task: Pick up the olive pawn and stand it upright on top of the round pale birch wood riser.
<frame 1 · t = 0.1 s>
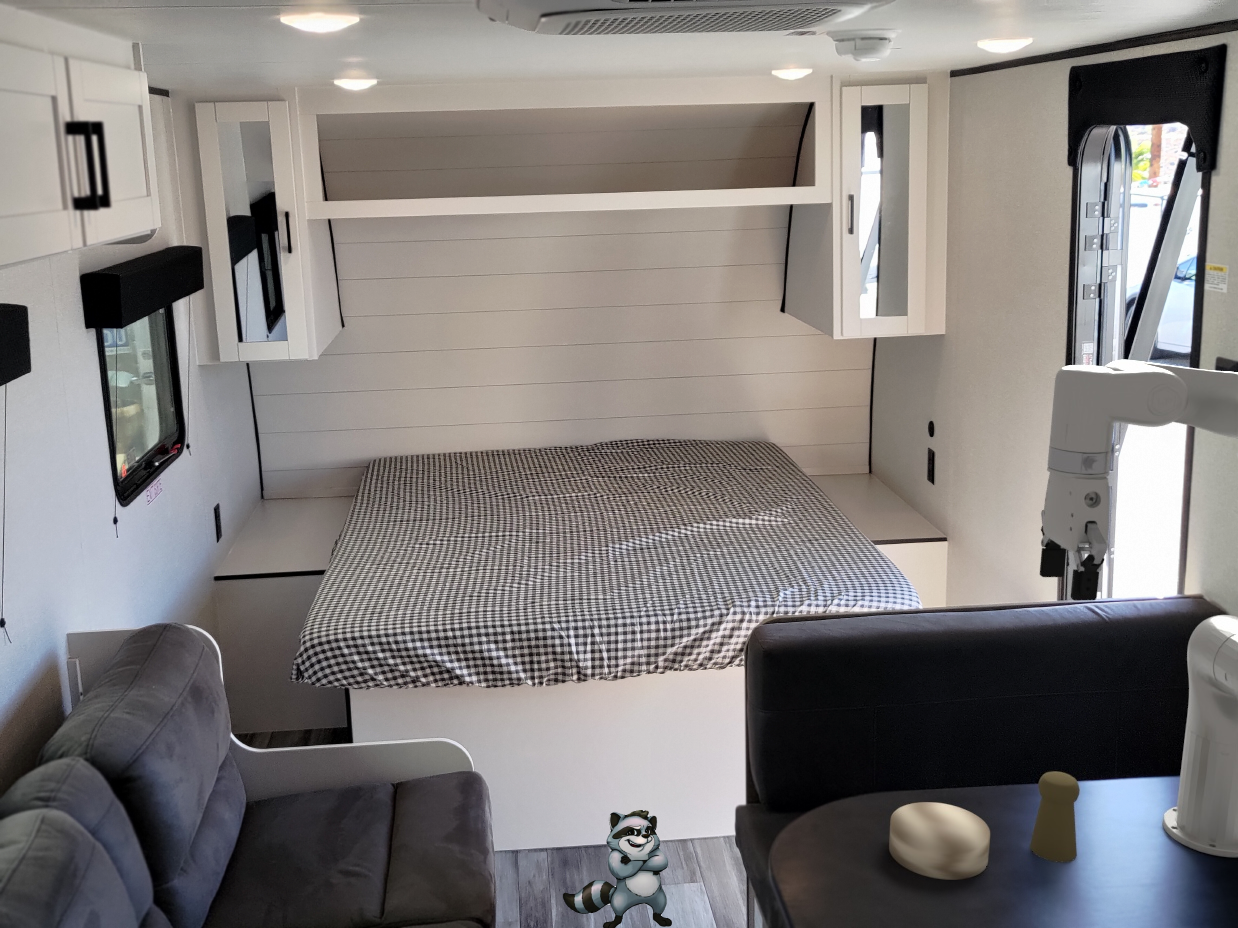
hand: (1066, 587, 153), 37 cm above the table, tool pointing down, fingers open, 9 cm apart
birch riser: (937, 852, 157), on the table
olive pawn: (1053, 851, 158), on the table
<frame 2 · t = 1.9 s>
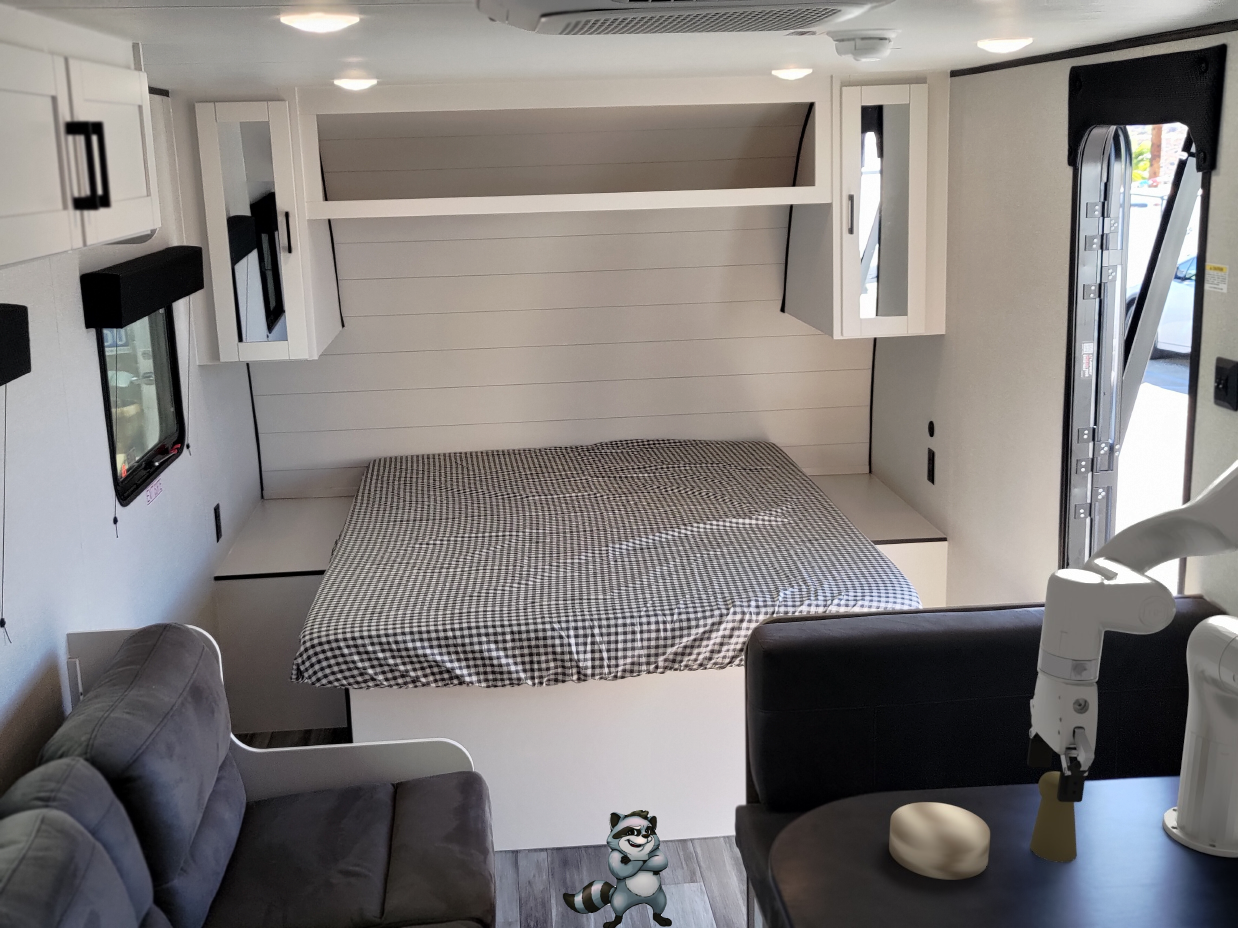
hand: (1053, 782, 155), 10 cm above the table, tool pointing down, fingers open, 9 cm apart
nothing on the table moved.
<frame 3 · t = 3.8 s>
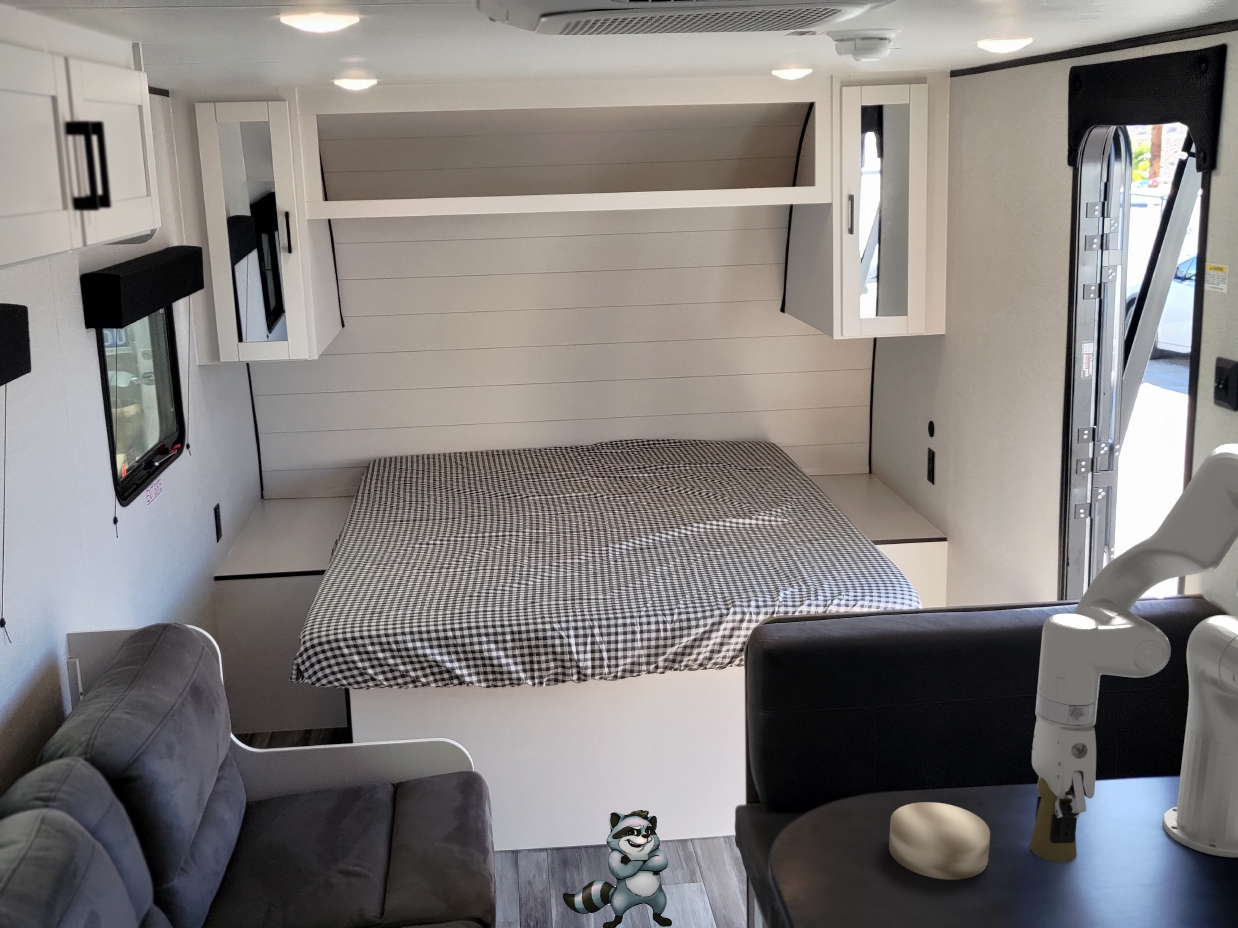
hand: (1054, 831, 157), 3 cm above the table, tool pointing down, fingers closed on olive pawn, 4 cm apart
olive pawn: (1052, 851, 158), on the table, touching gripper
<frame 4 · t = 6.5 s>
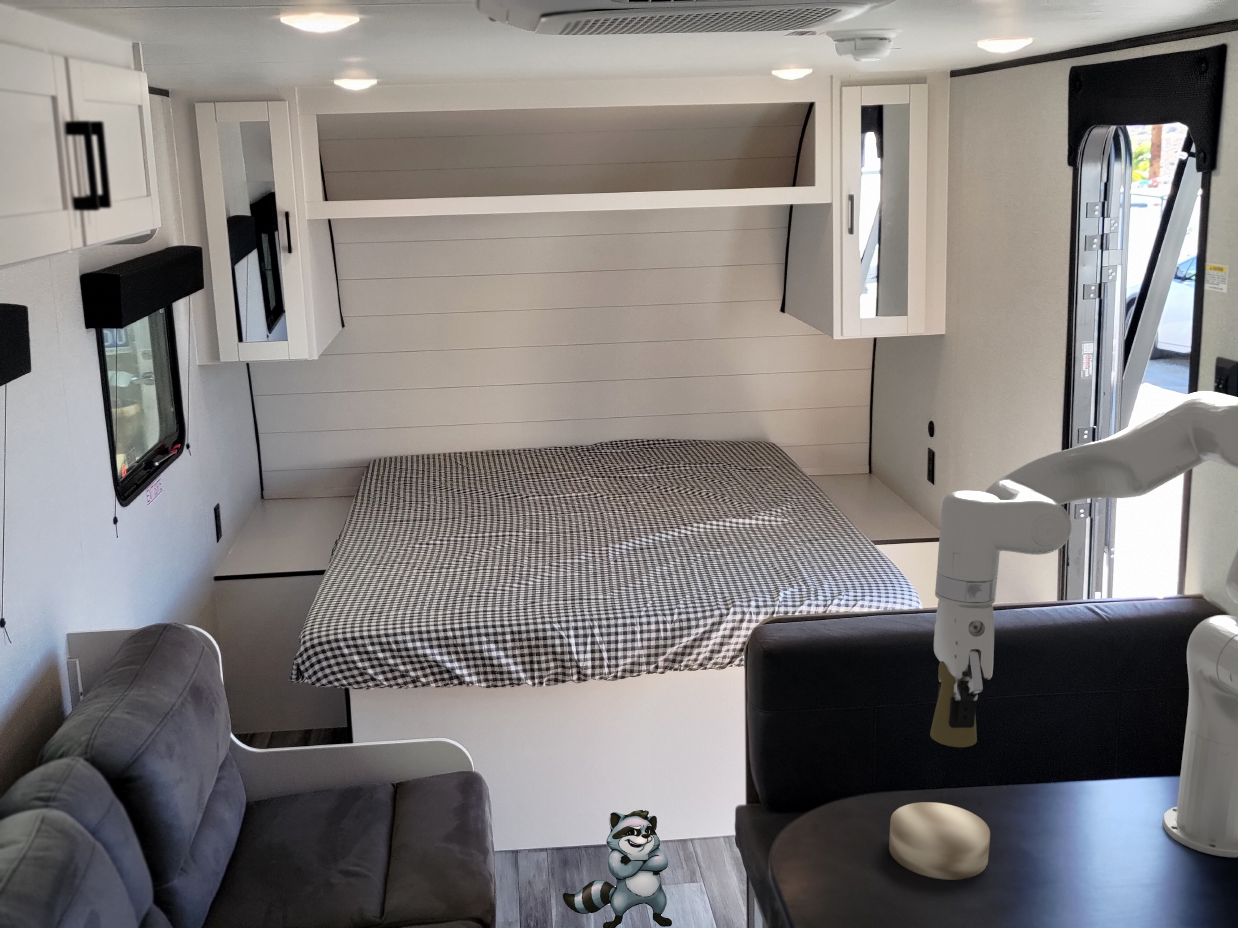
hand: (955, 717, 153), 20 cm above the table, tool pointing down, fingers closed on olive pawn, 4 cm apart
olive pawn: (953, 738, 153), point 17 cm above the table, touching gripper
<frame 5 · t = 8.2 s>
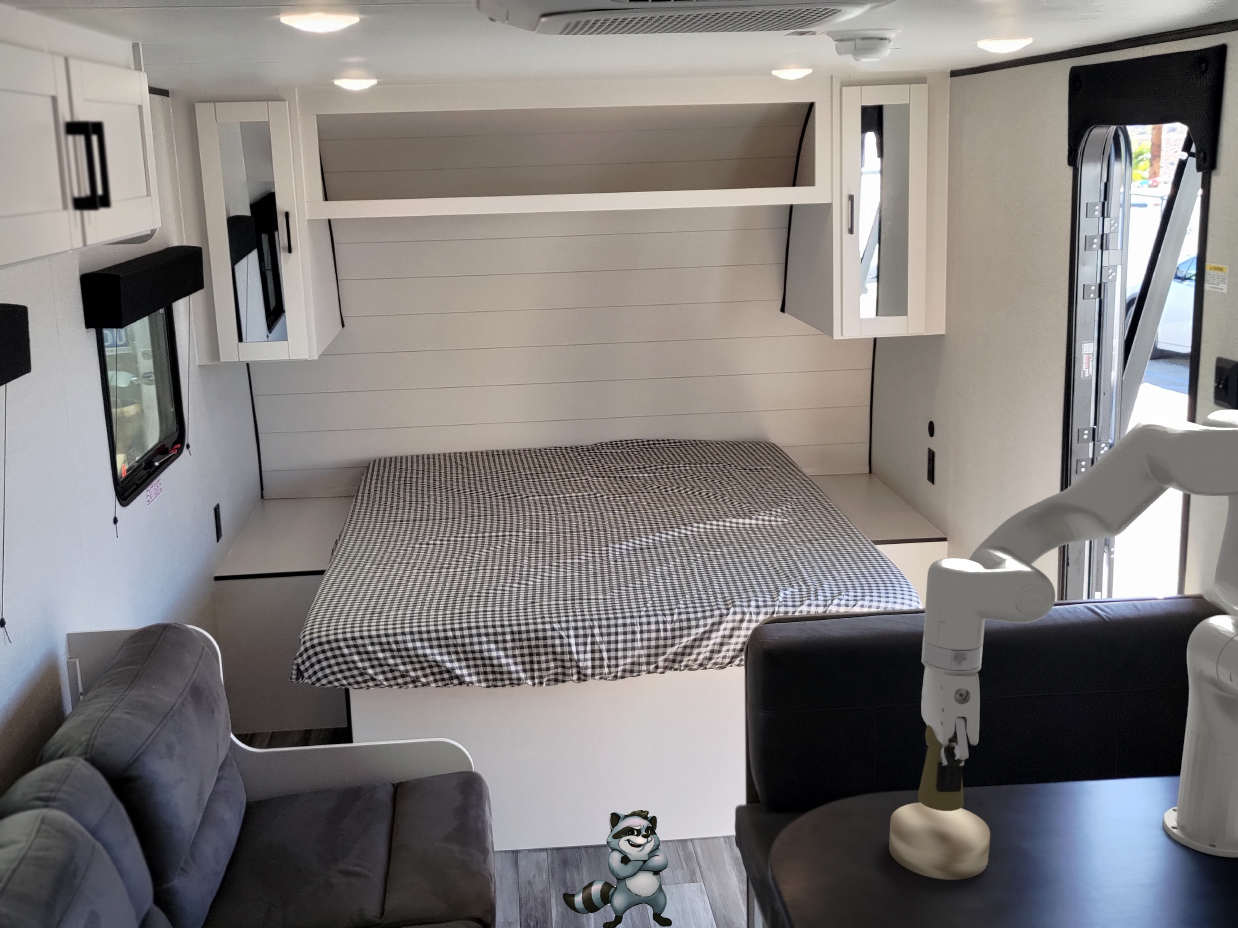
hand: (942, 780, 155), 11 cm above the table, tool pointing down, fingers closed on olive pawn, 4 cm apart
olive pawn: (940, 800, 155), point 8 cm above the table, touching gripper
when the fingers open (8 cm above the table, at t = 9.4 s): olive pawn drops 1 cm, resting on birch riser.
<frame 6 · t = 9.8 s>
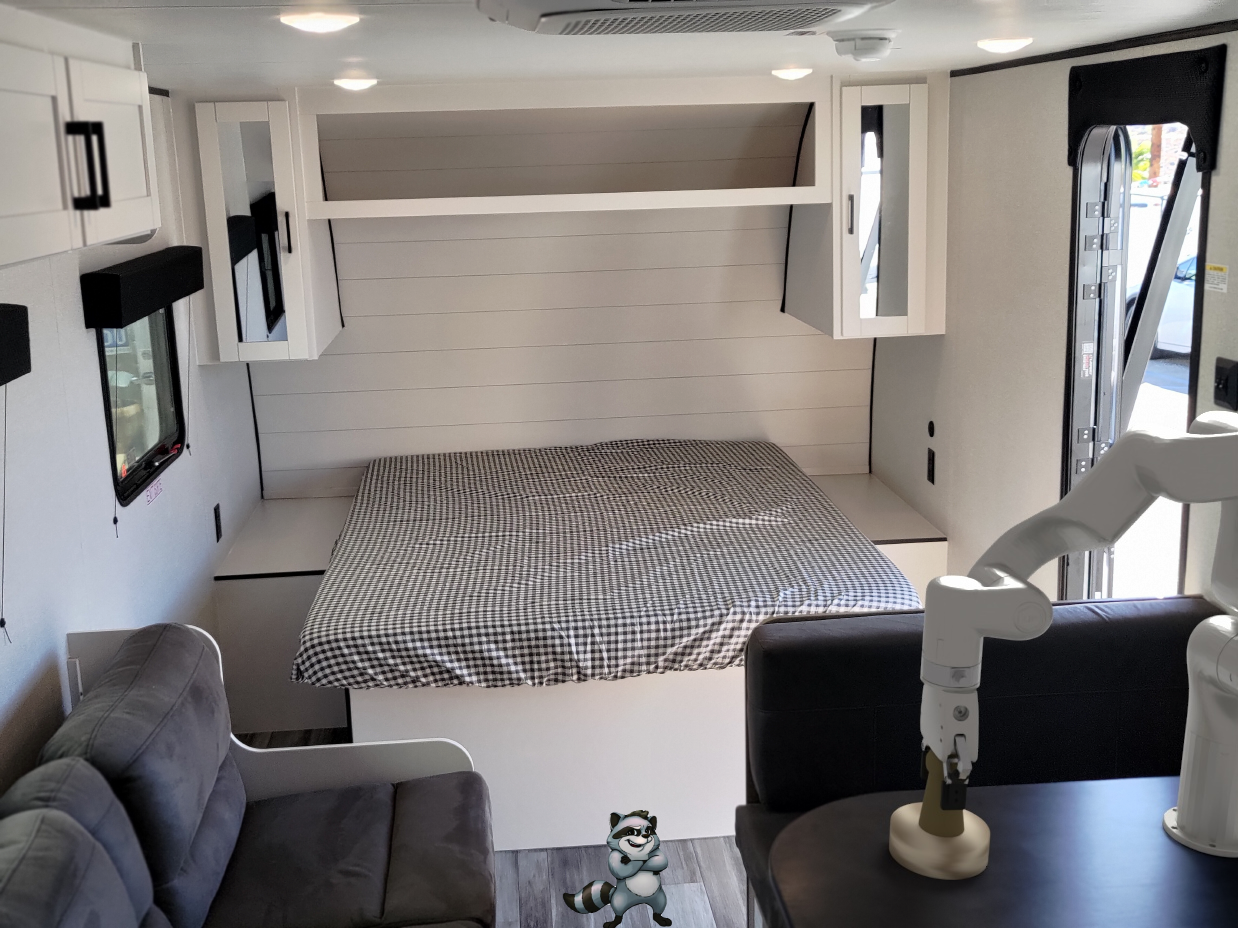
hand: (942, 792, 155), 9 cm above the table, tool pointing down, fingers open, 7 cm apart
olive pawn: (941, 826, 156), point 4 cm above the table, touching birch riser
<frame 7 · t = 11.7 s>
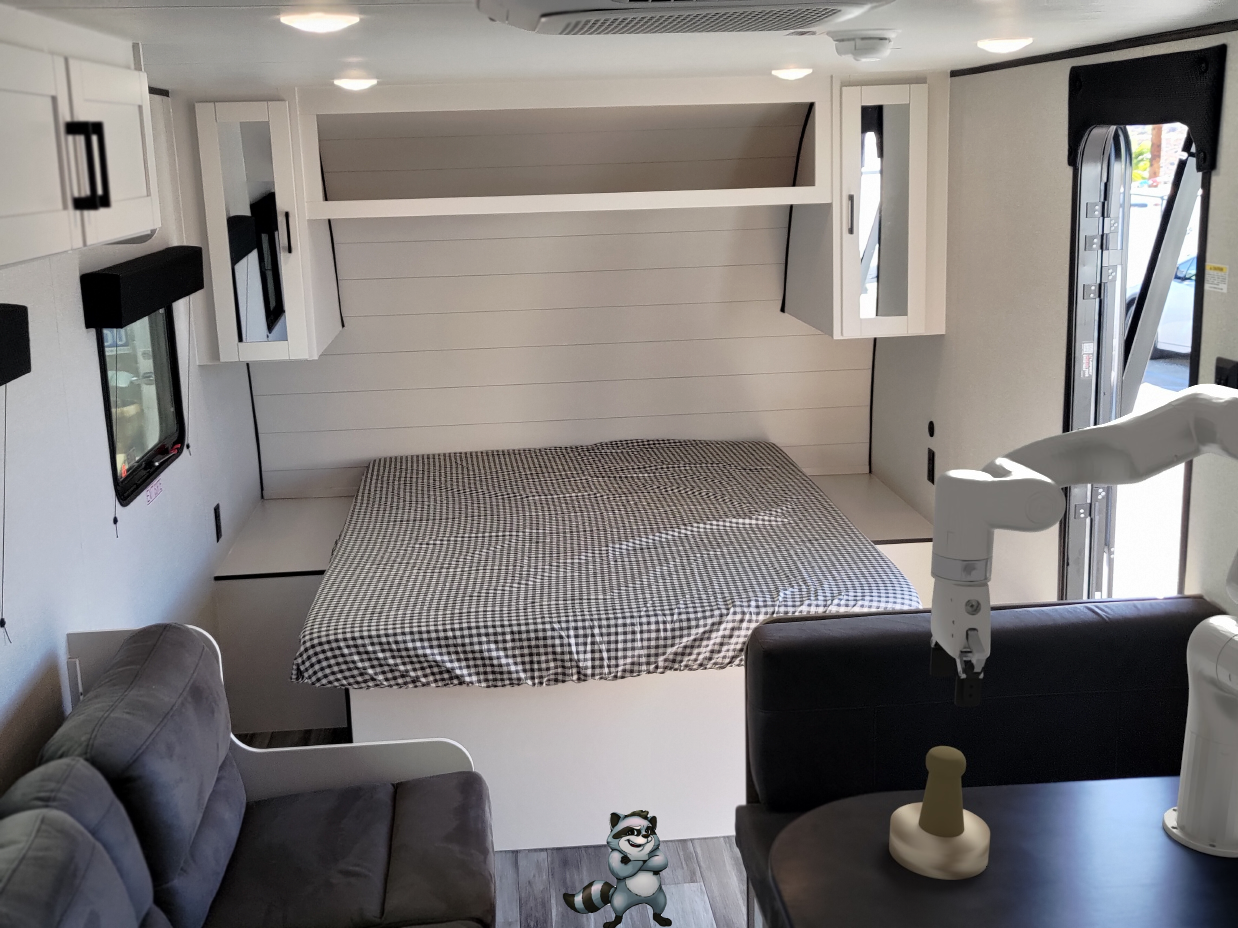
hand: (954, 690, 152), 23 cm above the table, tool pointing down, fingers open, 9 cm apart
nothing on the table moved.
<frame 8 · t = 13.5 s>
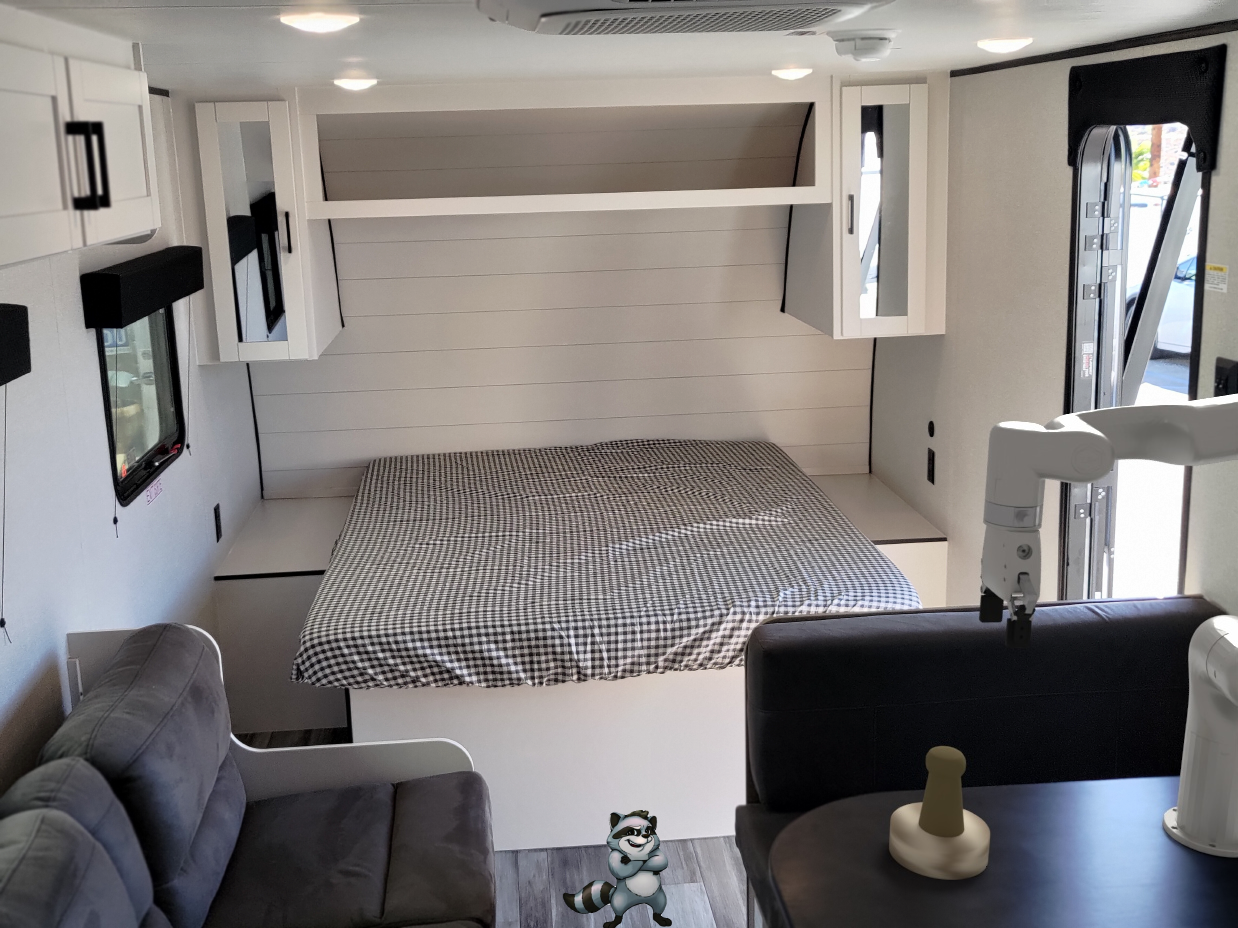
hand: (1003, 633, 159), 28 cm above the table, tool pointing down, fingers open, 9 cm apart
nothing on the table moved.
at the end: olive pawn 0.2 cm off-centre on the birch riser, point 3.8 cm above the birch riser's base; olive pawn tilted 0°; the gripper is holding nothing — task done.
